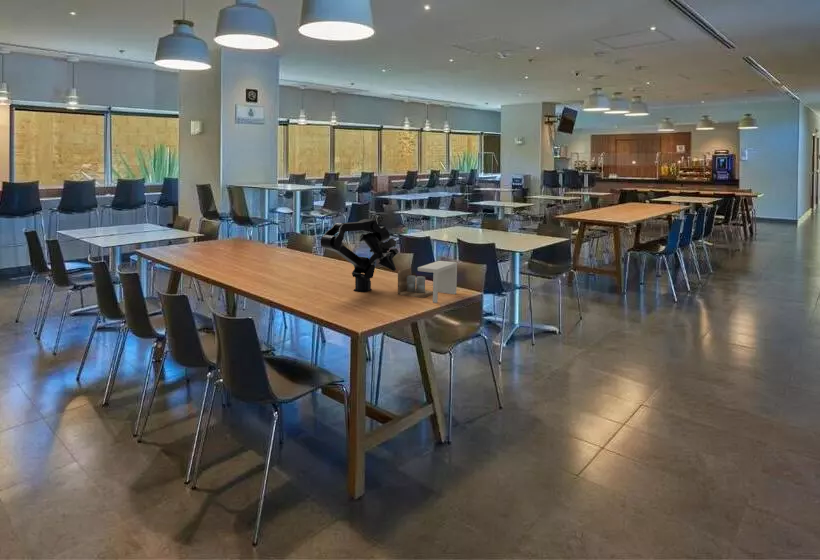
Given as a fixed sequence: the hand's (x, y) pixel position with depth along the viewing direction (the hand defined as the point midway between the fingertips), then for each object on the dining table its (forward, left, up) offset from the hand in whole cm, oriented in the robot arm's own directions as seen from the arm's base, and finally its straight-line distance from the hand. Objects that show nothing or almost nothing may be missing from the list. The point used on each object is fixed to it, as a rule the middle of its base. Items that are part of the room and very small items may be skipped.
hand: (394, 270), depth 277 cm
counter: (+22, 0, -10) cm, 24 cm away
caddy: (+11, 0, -10) cm, 15 cm away
